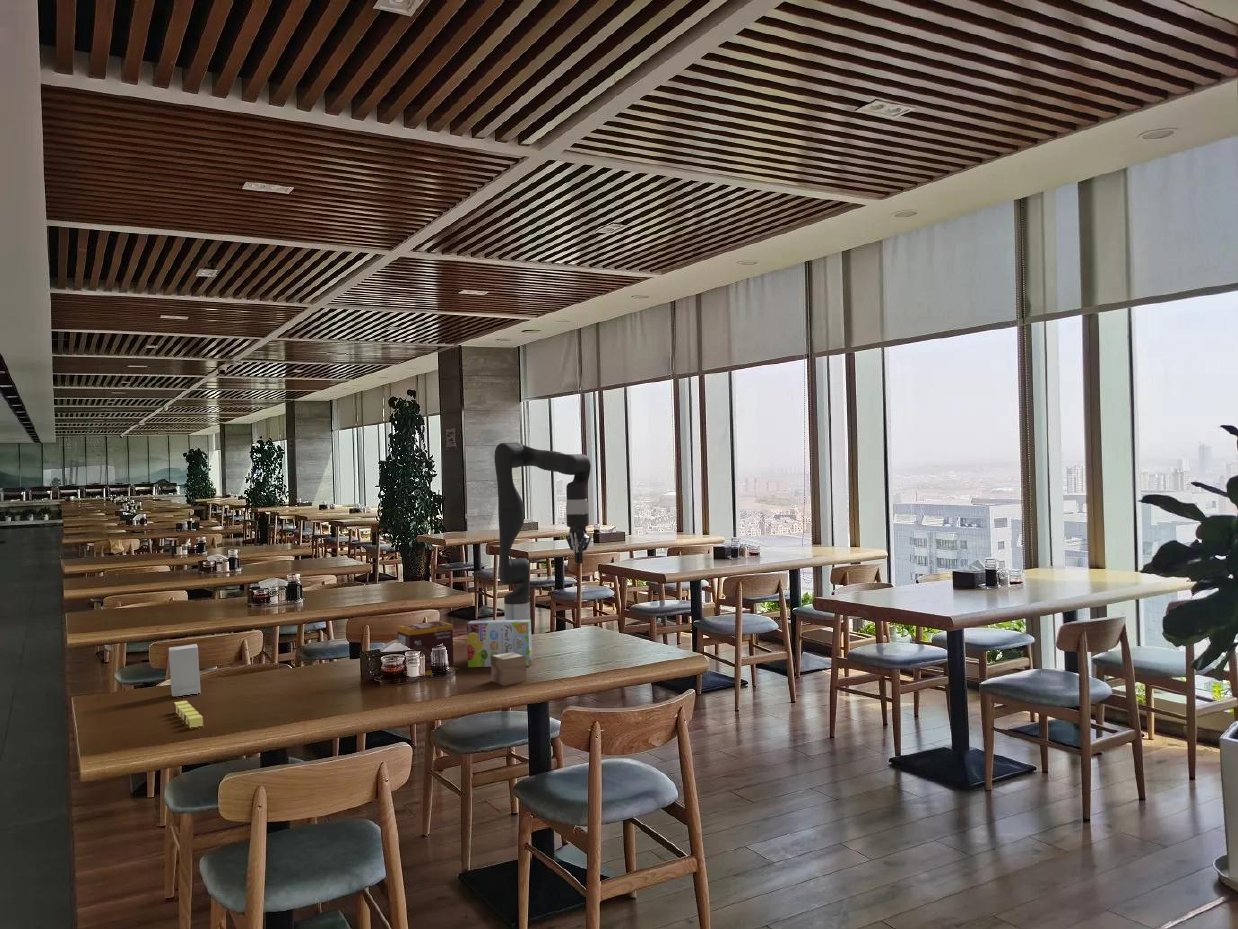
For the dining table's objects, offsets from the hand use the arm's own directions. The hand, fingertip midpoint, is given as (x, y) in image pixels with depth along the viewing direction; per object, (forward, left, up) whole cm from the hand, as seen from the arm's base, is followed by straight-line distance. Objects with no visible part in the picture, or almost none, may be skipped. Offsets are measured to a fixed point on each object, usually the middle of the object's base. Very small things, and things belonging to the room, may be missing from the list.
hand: (578, 563), depth 316 cm
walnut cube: (+10, -34, -25) cm, 43 cm away
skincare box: (-43, -117, -33) cm, 129 cm away
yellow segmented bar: (-10, -124, -34) cm, 129 cm away
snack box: (-12, -25, -33) cm, 43 cm away
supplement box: (-20, -48, -33) cm, 62 cm away
